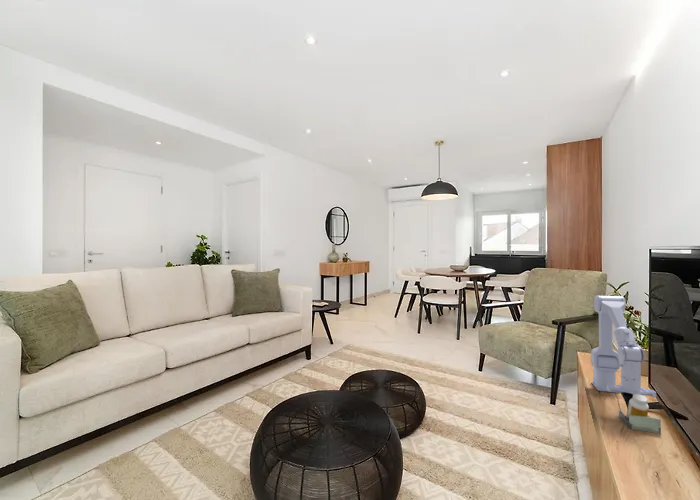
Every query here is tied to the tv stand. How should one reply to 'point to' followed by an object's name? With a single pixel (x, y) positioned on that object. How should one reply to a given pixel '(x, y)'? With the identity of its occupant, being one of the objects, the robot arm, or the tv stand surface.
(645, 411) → the supplement bottle
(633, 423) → the seating bay
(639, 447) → the tv stand surface
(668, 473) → the tv stand surface
